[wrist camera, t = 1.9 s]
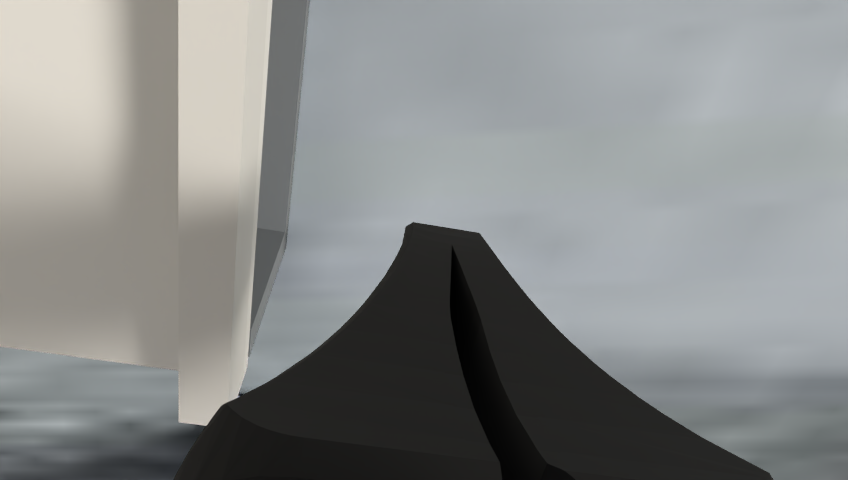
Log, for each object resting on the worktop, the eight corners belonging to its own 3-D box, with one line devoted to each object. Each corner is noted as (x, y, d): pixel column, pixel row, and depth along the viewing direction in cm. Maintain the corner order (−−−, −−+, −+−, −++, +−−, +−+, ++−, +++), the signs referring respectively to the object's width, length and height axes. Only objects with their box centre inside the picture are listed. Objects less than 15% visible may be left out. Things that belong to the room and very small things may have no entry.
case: (285, 247, 24) (249, 356, 19) (-94, 188, 23) (-246, 289, 18) (326, -175, 17) (286, -185, 12) (-208, -292, 16) (-505, -359, 11)
